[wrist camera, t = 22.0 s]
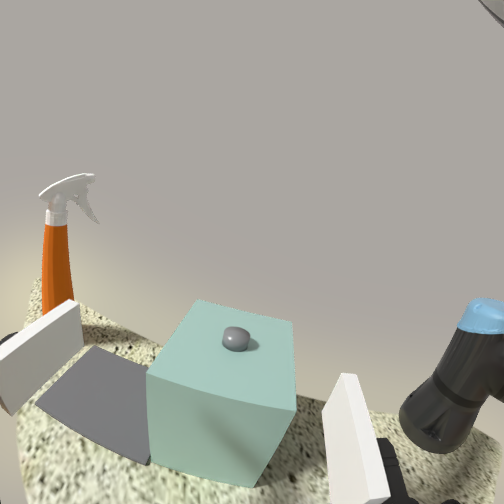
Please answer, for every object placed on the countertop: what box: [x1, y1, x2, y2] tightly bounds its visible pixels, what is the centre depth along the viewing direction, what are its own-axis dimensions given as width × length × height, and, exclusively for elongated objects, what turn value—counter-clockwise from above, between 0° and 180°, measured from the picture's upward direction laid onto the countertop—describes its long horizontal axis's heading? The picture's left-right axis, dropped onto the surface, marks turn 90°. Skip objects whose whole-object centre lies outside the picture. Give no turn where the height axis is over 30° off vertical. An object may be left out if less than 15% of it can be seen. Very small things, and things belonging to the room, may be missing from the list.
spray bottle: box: [39, 173, 99, 316], centre depth 34 cm, size 7×11×26 cm, turn 139°
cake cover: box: [146, 299, 297, 488], centre depth 26 cm, size 11×14×16 cm
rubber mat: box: [35, 345, 151, 466], centre depth 28 cm, size 16×16×1 cm
